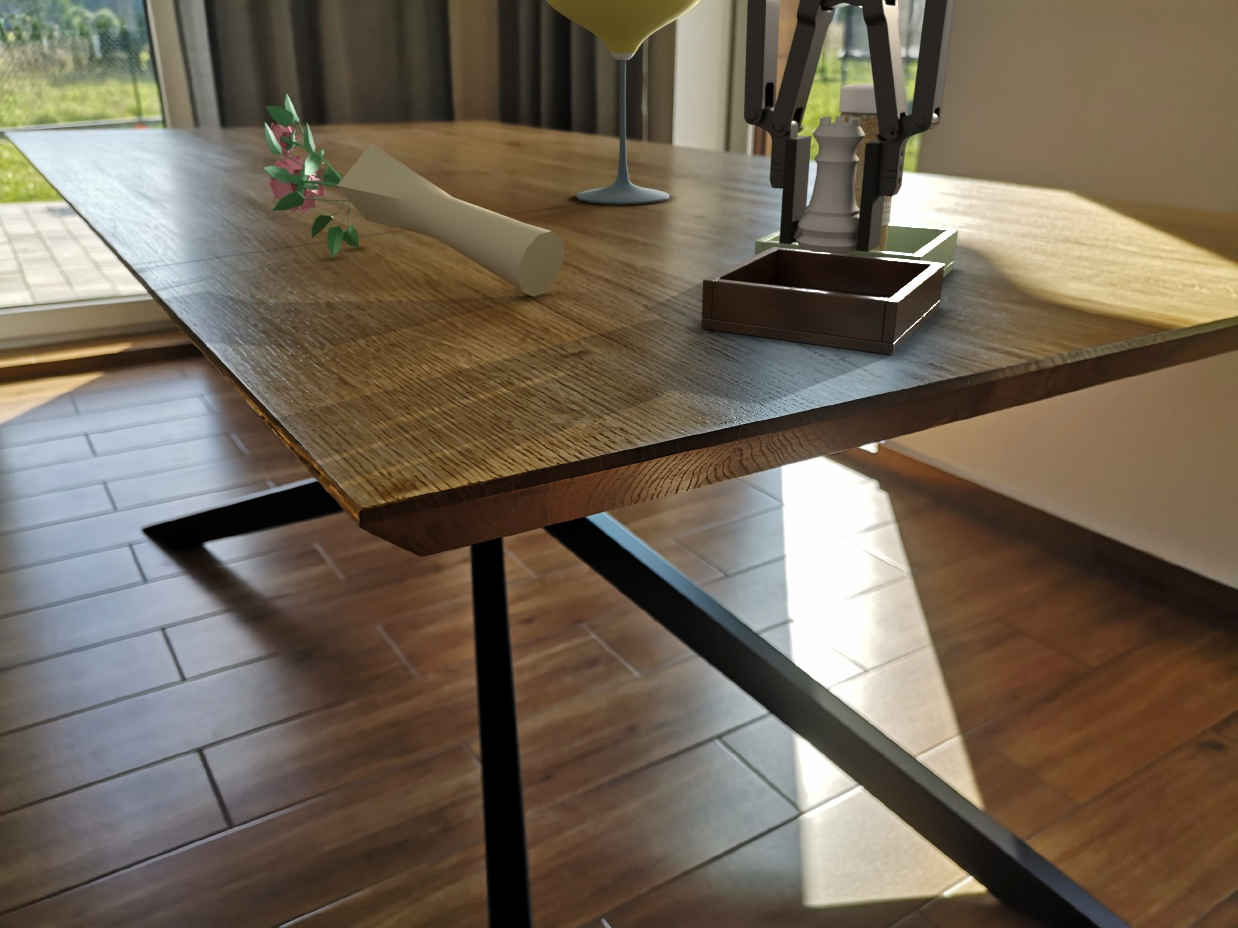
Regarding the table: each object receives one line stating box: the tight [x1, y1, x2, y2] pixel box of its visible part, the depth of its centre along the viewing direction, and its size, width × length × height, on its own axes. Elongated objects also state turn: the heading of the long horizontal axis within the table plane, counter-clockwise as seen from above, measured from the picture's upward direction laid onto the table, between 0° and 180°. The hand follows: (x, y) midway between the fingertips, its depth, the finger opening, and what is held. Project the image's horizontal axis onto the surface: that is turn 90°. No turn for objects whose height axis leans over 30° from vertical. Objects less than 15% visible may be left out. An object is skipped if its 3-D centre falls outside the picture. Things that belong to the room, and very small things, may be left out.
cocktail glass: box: [545, 0, 701, 206], centre depth 115 cm, size 18×18×25 cm
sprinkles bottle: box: [838, 83, 893, 251], centre depth 78 cm, size 5×5×14 cm
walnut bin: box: [701, 247, 945, 356], centre depth 68 cm, size 12×12×3 cm
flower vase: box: [262, 92, 566, 297], centre depth 84 cm, size 12×12×35 cm
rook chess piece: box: [796, 115, 865, 253], centre depth 65 cm, size 4×4×8 cm
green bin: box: [754, 223, 959, 278], centre depth 80 cm, size 12×12×3 cm
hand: (829, 243), depth 67 cm, fingers closed on rook chess piece, 4 cm apart
